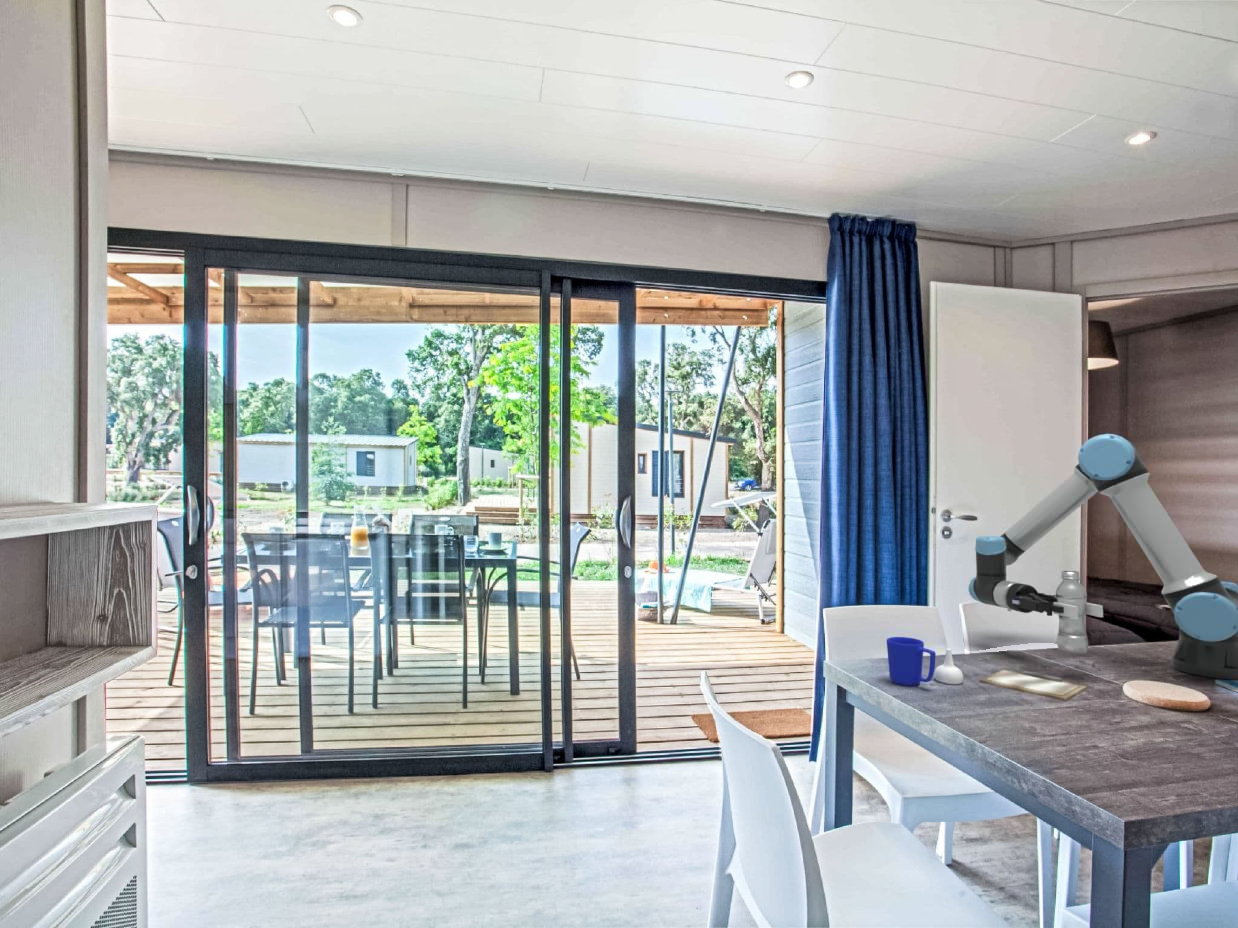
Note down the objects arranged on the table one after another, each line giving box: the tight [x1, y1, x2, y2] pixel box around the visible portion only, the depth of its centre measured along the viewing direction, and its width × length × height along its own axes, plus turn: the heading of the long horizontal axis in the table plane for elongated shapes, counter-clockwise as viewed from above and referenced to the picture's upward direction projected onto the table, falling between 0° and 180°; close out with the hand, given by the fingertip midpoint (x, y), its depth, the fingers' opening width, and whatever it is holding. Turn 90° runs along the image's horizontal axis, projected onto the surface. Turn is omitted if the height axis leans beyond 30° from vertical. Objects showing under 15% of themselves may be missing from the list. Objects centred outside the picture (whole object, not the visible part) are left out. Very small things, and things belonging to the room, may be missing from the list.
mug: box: [886, 636, 937, 687], centre depth 160 cm, size 8×12×10 cm
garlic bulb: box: [933, 648, 964, 685], centre depth 163 cm, size 6×6×8 cm
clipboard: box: [979, 669, 1088, 701], centre depth 160 cm, size 18×14×1 cm
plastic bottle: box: [1055, 570, 1089, 655], centre depth 166 cm, size 6×7×20 cm
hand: (1089, 611), depth 161 cm, fingers closed on plastic bottle, 6 cm apart
